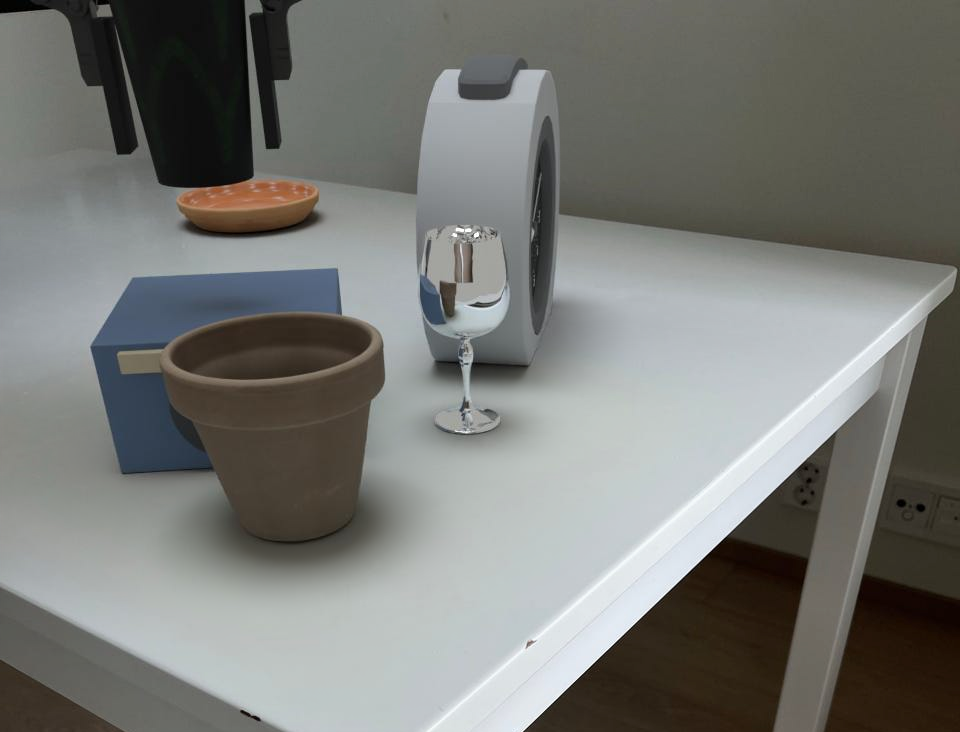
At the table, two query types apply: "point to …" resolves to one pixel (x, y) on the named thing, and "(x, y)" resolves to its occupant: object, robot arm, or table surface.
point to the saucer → (249, 205)
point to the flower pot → (281, 413)
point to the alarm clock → (496, 188)
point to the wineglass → (464, 304)
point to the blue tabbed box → (162, 318)
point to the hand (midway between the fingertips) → (201, 147)
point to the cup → (190, 87)
